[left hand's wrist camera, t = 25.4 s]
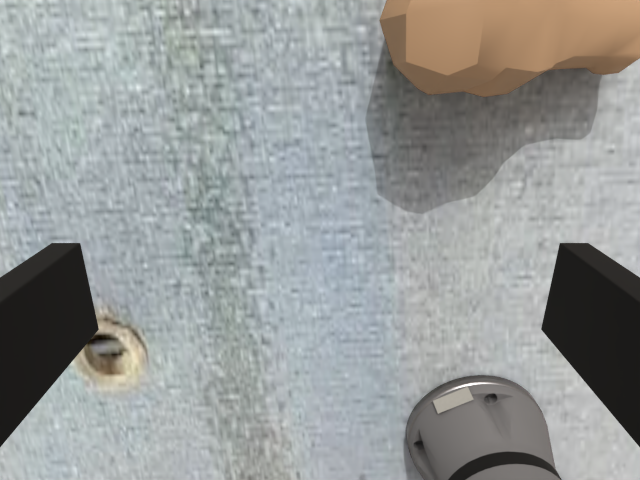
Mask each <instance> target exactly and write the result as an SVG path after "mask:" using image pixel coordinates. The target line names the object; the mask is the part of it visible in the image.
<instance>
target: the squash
mask: <svg viewBox="0 0 640 480" xmlns="http://www.w3.org/2000/svg"><path fill="white" fill-rule="evenodd" d="M380 23H381V27H382V31H383V34H384V37H385V39H386V42H387V45H388V49H389V52H390V55H391V58H392V62H393V65H394V66H395V67H396V68H397V69H398V70H399V71H400V72H401V73H402V74H403V75H404V76H405V77H406V78H407V79H408V80H409V81H410V82H411V83H412V84H413V85H414V86H415V87H416V88H418V89H419V90H421V91H423V92H424V93H426V94H428V95H433V94H443V93H453V92H462V91H463V92H467V93H471V94H474V95H478V96H482V97H487V96H495V95H502V94H508V93H510V92H511V91H513V90H515V89H516V88H518V87H520V86H522V85H523V84H525V83H527V82H528V81H530V80H532V79H534V78H535V77H537V76H539V75H540V74H542V73H544V72H546V71H547V70H555V69H570V68H587V69H588V70H589V71H591V72H592V73H594V74H602V75H605V74H613V73H619V72H620V71H622V70H623V69H625V68H626V67H627V66H629V65H630V64H632V63H633V62H635V61H636V60H638V59H639V58H640V0H387V1H386V4H385V7H384V10H383V12H382V15H381V18H380Z"/></svg>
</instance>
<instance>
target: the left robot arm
mask: <svg viewBox="0 0 640 480" xmlns="http://www.w3.org/2000/svg"><path fill="white" fill-rule="evenodd" d="M98 330H99V329H98V324H97V319H96V315H95V310H94V305H93V301H92V296H91V292H90V287H89V282H88V278H87V273H86V268H85V264H84V259H83V255H82V250H81V245H80V243H52V244H50V245H49V246H47V247H46V248H44V249H43V250H41V251H40V252H38V253H37V254H35V255H34V256H32V257H31V258H29V259H28V260H26V261H25V262H23V263H22V264H20V265H19V266H17V267H16V268H14V269H12V270H11V271H9V272H8V273H6V274H5V275H3V276H2V277H0V447H1V446H2V444H3V443H4V442H5V441H6V440H7V438H8V437H9V436H10V435H11V434H12V432H13V431H14V430H15V429H16V428H17V426H18V425H19V424H20V423H21V422H22V420H23V419H24V418H25V417H26V416H27V414H28V413H29V412H30V411H31V410H32V408H33V407H34V406H35V405H36V404H37V402H38V401H39V400H40V399H41V398H42V397H43V395H44V394H45V393H46V392H47V391H48V389H49V388H50V387H51V386H52V385H53V383H54V382H55V381H56V380H57V379H58V377H59V376H60V375H61V374H62V373H63V371H64V370H65V369H66V368H67V367H68V365H69V364H70V363H71V362H72V361H73V359H74V358H75V357H76V356H77V355H78V353H79V352H80V351H81V350H82V349H83V348H84V346H85V345H86V344H87V343H88V342H89V340H90V339H91V338H92V337H93V336H94V334H95V333H96V332H97V331H98ZM541 330H542V331H543V332H544V333H545V334H546V336H547V337H548V338H549V339H550V340H551V342H552V343H553V344H554V345H555V346H556V348H557V349H558V350H559V351H560V352H561V353H562V355H563V356H564V357H565V358H566V359H567V361H568V362H569V363H570V364H571V365H572V367H573V368H574V369H575V370H576V371H577V373H578V374H579V375H580V376H581V377H582V379H583V380H584V381H585V382H586V383H587V385H588V386H589V387H590V388H591V389H592V391H593V392H594V393H595V394H596V395H597V397H598V398H599V399H600V400H601V401H602V402H603V404H604V405H605V406H606V407H607V408H608V410H609V411H610V412H611V413H612V414H613V416H614V417H615V418H616V419H617V420H618V422H619V423H620V424H621V425H622V426H623V428H624V429H625V430H626V431H627V432H628V434H629V435H630V436H631V437H632V438H633V440H634V441H635V442H636V443H637V444H638V446H639V447H640V277H638V276H637V275H635V274H634V273H632V272H631V271H629V270H627V269H626V268H624V267H623V266H621V265H620V264H618V263H617V262H615V261H614V260H612V259H611V258H609V257H608V256H606V255H605V254H603V253H602V252H600V251H599V250H597V249H596V248H594V247H593V246H591V245H590V244H588V243H560V245H559V250H558V255H557V259H556V264H555V268H554V273H553V278H552V282H551V287H550V292H549V296H548V301H547V305H546V310H545V315H544V319H543V324H542V329H541ZM406 437H407V443H408V447H409V452H410V455H411V457H412V459H413V462H414V464H415V466H416V468H417V469H418V471H419V472H420V474H421V475H422V477H423V478H424V480H561V478H560V476H559V475H558V473H557V471H556V469H555V464H554V459H553V454H552V449H551V443H550V438H549V433H548V428H547V424H546V421H545V418H544V416H543V413H542V411H541V409H540V408H539V406H538V405H537V403H536V402H535V400H534V399H533V397H532V396H531V395H530V393H529V392H527V391H526V390H525V389H524V388H523V387H521V386H520V385H518V384H516V383H514V382H512V381H510V380H507V379H504V378H500V377H495V376H486V375H477V376H468V377H463V378H459V379H455V380H452V381H449V382H447V383H445V384H443V385H441V386H439V387H437V388H435V389H434V390H432V391H431V392H430V393H428V394H427V395H426V396H425V397H424V398H422V399H421V401H420V402H419V403H418V404H417V405H416V407H415V408H414V410H413V411H412V413H411V415H410V417H409V420H408V424H407V430H406Z"/></svg>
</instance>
